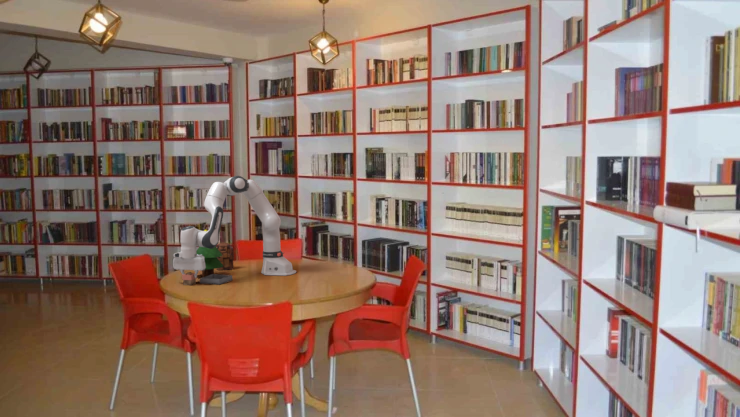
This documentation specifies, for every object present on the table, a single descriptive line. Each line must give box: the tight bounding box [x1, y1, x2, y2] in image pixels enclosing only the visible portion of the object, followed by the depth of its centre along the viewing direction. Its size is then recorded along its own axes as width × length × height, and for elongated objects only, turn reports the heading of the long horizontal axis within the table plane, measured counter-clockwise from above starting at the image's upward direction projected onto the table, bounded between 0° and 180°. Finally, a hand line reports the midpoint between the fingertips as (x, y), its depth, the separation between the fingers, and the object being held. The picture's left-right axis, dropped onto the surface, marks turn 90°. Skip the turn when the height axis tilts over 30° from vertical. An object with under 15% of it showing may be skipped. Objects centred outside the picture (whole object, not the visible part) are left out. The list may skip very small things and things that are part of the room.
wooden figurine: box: [216, 242, 235, 271], centre depth 403 cm, size 12×6×18 cm, turn 100°
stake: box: [182, 271, 197, 286], centre depth 357 cm, size 5×5×7 cm
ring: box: [181, 272, 198, 281], centre depth 357 cm, size 6×6×3 cm
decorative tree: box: [196, 229, 223, 278], centre depth 380 cm, size 19×19×30 cm
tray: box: [199, 273, 233, 286], centre depth 364 cm, size 14×14×3 cm
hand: (189, 277), depth 357 cm, fingers closed on ring, 6 cm apart
